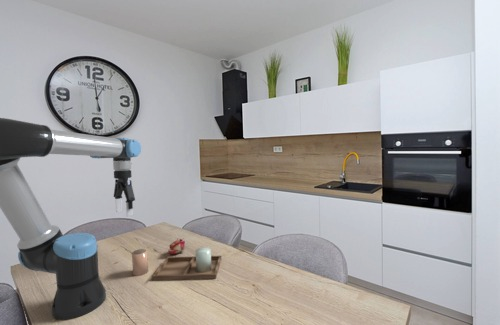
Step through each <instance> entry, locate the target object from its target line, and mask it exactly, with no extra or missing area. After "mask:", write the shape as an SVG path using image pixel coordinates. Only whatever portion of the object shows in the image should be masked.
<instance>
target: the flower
mask: <svg viewBox="0 0 500 325" xmlns="http://www.w3.org/2000/svg"><path fill="white" fill-rule="evenodd" d="M185 242H186V241H185V239H184V238H177V239H176V240H175V241H173V242H172V243H170V244H169V248H168V250H167V252H168V254H171V255H177V254H180V255H183V251H185V250H186V245H185V244H186V243H185ZM168 254H167V255H168Z"/></svg>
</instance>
